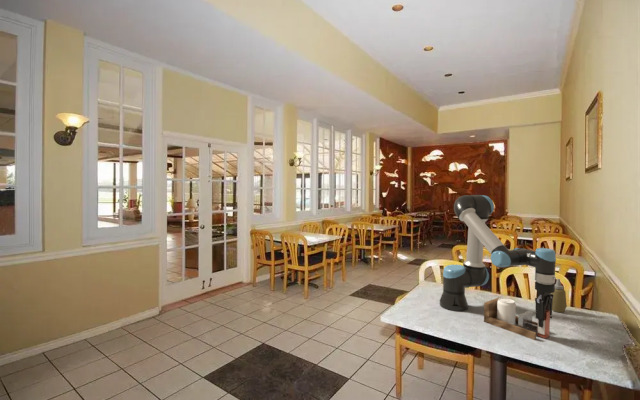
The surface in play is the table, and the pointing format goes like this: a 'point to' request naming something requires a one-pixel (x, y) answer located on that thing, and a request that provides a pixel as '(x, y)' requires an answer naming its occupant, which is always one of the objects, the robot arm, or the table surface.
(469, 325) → the table surface
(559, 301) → the squeeze bottle
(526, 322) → the plunger
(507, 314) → the beverage can
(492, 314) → the cradle frame
